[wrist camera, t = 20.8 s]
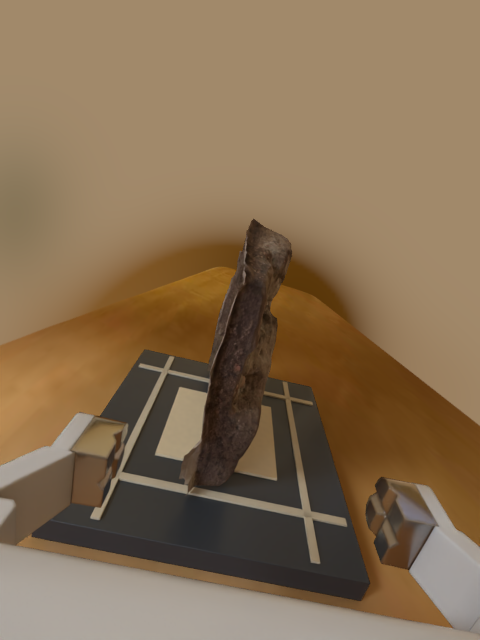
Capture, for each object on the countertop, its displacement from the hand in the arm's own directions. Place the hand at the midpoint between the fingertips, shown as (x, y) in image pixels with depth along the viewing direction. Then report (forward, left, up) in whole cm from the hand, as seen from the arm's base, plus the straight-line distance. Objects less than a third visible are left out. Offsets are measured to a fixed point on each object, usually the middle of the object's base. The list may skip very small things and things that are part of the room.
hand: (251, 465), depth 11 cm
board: (0, +14, -11) cm, 18 cm away
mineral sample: (0, +14, -10) cm, 17 cm away
